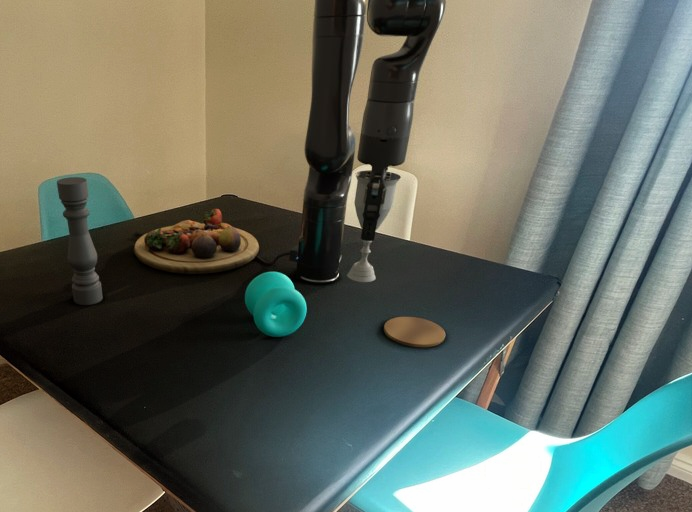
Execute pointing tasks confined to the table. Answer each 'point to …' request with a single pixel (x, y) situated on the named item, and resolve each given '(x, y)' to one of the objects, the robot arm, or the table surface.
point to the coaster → (414, 331)
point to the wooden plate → (197, 246)
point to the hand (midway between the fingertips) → (368, 233)
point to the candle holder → (80, 241)
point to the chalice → (363, 269)
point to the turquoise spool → (275, 304)
